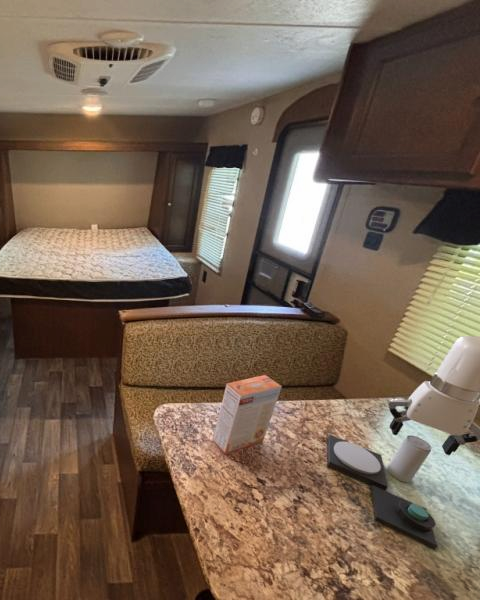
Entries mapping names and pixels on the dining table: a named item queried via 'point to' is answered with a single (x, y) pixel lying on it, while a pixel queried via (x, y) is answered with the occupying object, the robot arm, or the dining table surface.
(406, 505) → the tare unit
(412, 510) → the button
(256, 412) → the cracker box
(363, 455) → the scale
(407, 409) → the robot arm
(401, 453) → the beverage can
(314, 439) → the dining table surface
